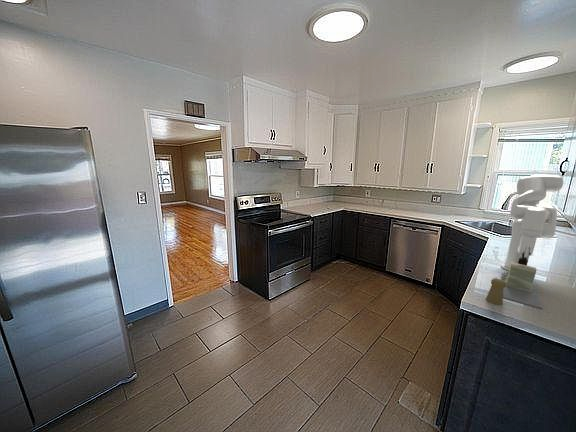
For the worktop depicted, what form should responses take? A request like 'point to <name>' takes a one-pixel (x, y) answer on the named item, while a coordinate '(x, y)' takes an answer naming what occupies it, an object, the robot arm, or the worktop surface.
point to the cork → (496, 292)
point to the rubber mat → (522, 296)
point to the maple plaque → (521, 276)
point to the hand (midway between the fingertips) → (521, 265)
